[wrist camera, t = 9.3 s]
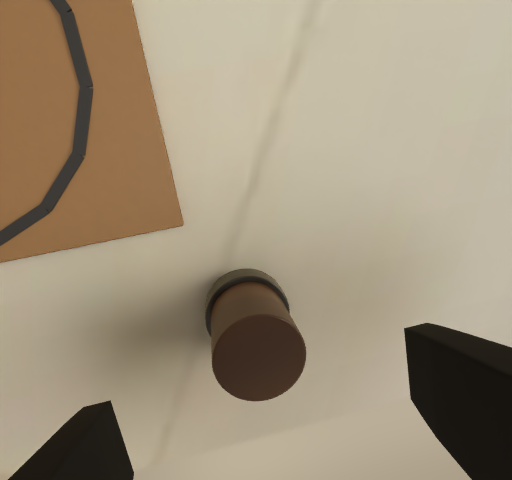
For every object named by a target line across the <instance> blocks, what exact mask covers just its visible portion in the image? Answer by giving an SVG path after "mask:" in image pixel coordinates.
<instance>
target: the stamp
mask: <svg viewBox="0 0 512 480" xmlns="http://www.w3.org/2000/svg"><path fill="white" fill-rule="evenodd" d="M205 321H206V327H207V330H208V333H209V335H210V336H211V348H212V368H213V372H214V375H215V377H216V379H217V381H218V383H219V384H220V385H221V386H222V388H224V389H225V390H226V391H227V392H228V393H230V394H231V395H233V396H235V397H237V398H239V399H242V400H247V401H264V400H268V399H272V398H275V397H277V396H279V395H281V394H283V393H284V392H286V391H287V390H288V389H290V388H291V387H292V386H293V385H294V384H295V383H296V381H297V380H298V378H299V377H300V375H301V373H302V371H303V368H304V365H305V361H306V347H305V343H304V340H303V337H302V335H301V334H300V332H299V330H298V328H297V326H296V325H295V323H294V321H293V319H292V318H291V316H290V309H289V304H288V301H287V298H286V296H285V294H284V293H283V291H282V289H281V288H280V286H279V285H278V283H277V282H276V281H275V280H274V279H273V278H272V277H271V276H269V275H267V274H266V273H264V272H261V271H258V270H254V269H240V270H235V271H232V272H230V273H228V274H226V275H224V276H223V277H221V278H220V279H219V280H218V281H217V282H216V283H215V284H214V285H213V287H212V288H211V290H210V292H209V294H208V296H207V299H206V306H205Z"/></svg>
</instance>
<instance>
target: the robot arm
mask: <svg viewBox="0 0 512 480" xmlns="http://www.w3.org/2000/svg"><path fill="white" fill-rule="evenodd" d="M404 332H405V342H406V353H407V363H408V374H409V385H410V395H411V400H412V401H413V403H414V405H415V406H416V408H417V409H418V411H419V412H420V414H421V416H422V417H423V419H424V420H425V421H426V423H427V424H428V426H429V427H430V429H431V430H432V432H433V433H434V434H435V436H436V438H437V439H438V440H439V441H440V442H441V444H442V445H443V446H444V447H445V448H446V449H447V451H448V452H449V453H450V454H451V456H452V457H453V458H454V459H455V460H456V461H457V463H458V464H459V465H460V466H461V467H462V469H463V470H464V471H465V472H466V473H467V474H468V476H469V477H470V478H471V479H472V480H512V348H511V347H508V346H505V345H502V344H498V343H495V342H492V341H489V340H486V339H483V338H479V337H476V336H473V335H470V334H467V333H463V332H460V331H457V330H453V329H450V328H446V327H443V326H439V325H435V324H430V323H424V324H420V325H416V326H412V327H408V328H404ZM133 476H134V472H133V469H132V465H131V462H130V459H129V456H128V453H127V450H126V447H125V444H124V441H123V438H122V434H121V431H120V428H119V425H118V422H117V419H116V416H115V413H114V410H113V407H112V403H111V400H110V401H106V402H102V403H98V404H94V405H90V406H86V407H83V408H82V409H81V410H80V411H78V412H77V413H76V414H75V415H74V416H73V417H72V418H71V419H70V420H68V421H67V422H66V423H65V424H64V425H63V426H62V427H61V428H60V429H59V430H58V431H57V432H56V433H55V434H54V435H53V436H52V437H51V438H50V439H49V440H48V441H47V442H46V443H45V444H44V445H43V446H42V447H41V448H40V449H39V450H38V451H37V452H36V453H35V454H34V455H33V456H32V457H31V458H30V459H29V460H28V461H27V462H26V463H25V464H24V465H22V466H21V467H20V468H19V469H18V470H17V471H16V472H15V473H14V474H13V475H12V476H11V477H10V478H9V479H8V480H133Z"/></svg>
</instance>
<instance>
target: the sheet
mask: <svg viewBox="0 0 512 480" xmlns="http://www.w3.org/2000/svg"><path fill="white" fill-rule="evenodd" d="M178 226H183V220H182V215H181V211H180V207H179V202H178V198H177V194H176V190H175V185H174V181H173V177H172V173H171V168H170V164H169V160H168V155H167V151H166V147H165V143H164V138H163V134H162V130H161V126H160V121H159V117H158V113H157V108H156V104H155V100H154V96H153V91H152V87H151V83H150V78H149V74H148V70H147V66H146V61H145V57H144V53H143V49H142V44H141V40H140V36H139V31H138V27H137V23H136V19H135V14H134V10H133V6H132V2H131V0H0V263H1V262H6V261H10V260H15V259H20V258H25V257H30V256H35V255H40V254H45V253H50V252H55V251H60V250H65V249H70V248H75V247H80V246H85V245H89V244H94V243H99V242H104V241H109V240H114V239H119V238H124V237H129V236H134V235H139V234H144V233H149V232H154V231H159V230H164V229H168V228H173V227H178Z"/></svg>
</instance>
